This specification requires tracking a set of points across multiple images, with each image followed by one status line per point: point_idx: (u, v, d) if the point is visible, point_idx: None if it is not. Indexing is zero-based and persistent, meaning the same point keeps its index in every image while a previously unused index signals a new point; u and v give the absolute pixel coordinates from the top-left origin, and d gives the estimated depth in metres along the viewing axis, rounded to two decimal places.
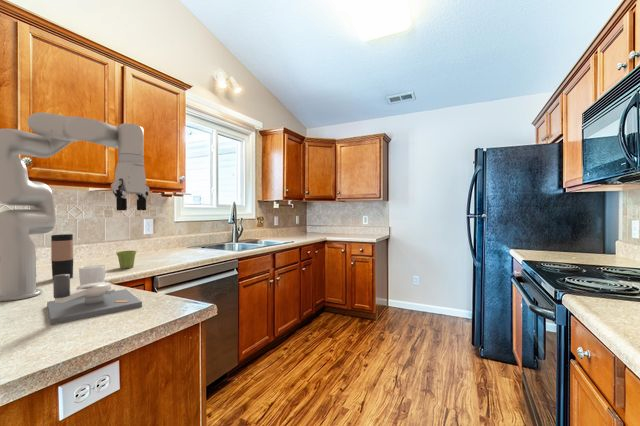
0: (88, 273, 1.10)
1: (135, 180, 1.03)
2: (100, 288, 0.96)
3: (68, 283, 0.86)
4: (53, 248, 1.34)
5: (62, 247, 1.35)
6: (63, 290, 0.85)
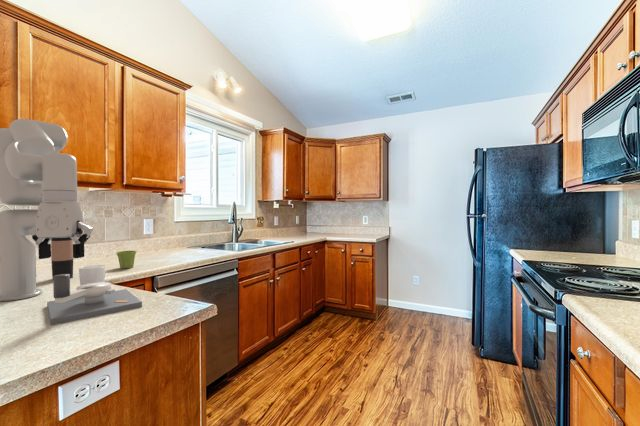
0: (88, 273, 1.10)
1: None
2: (100, 288, 0.96)
3: (68, 283, 0.86)
4: (53, 248, 1.34)
5: (62, 247, 1.35)
6: (63, 290, 0.85)
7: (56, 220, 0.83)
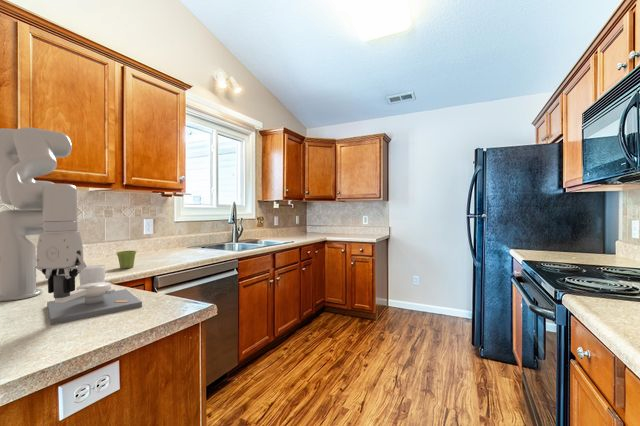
0: (88, 273, 1.10)
1: None
2: (100, 288, 0.96)
3: None
4: None
5: None
6: (63, 290, 0.85)
7: (56, 251, 0.83)
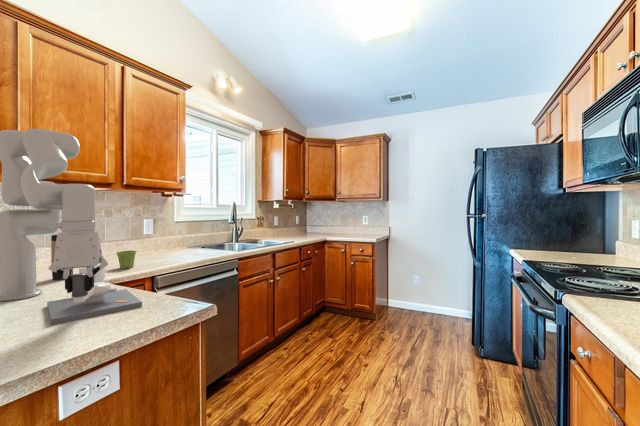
0: None
1: None
2: (105, 287, 0.97)
3: None
4: (53, 248, 1.34)
5: None
6: (84, 289, 0.86)
7: (81, 250, 0.84)
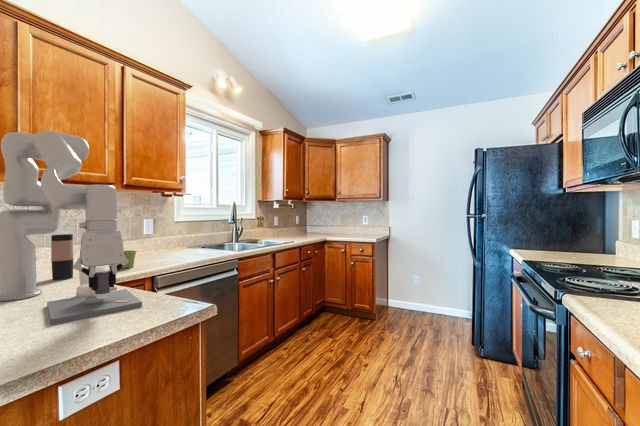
0: None
1: None
2: None
3: None
4: (53, 248, 1.34)
5: (62, 247, 1.35)
6: (109, 285, 0.90)
7: (109, 248, 0.89)
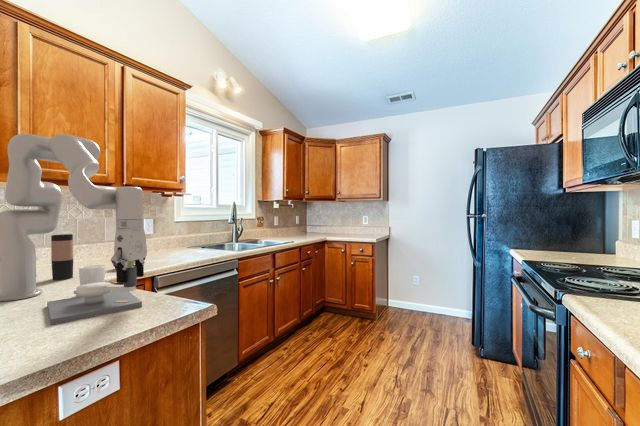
0: (88, 273, 1.10)
1: None
2: None
3: None
4: (53, 248, 1.34)
5: (62, 247, 1.35)
6: None
7: (140, 244, 0.99)
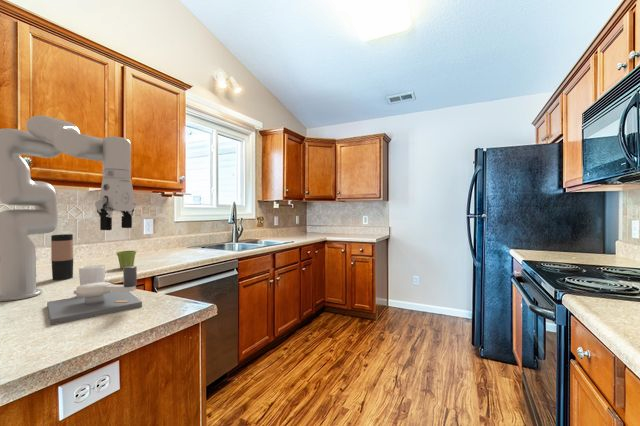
0: (88, 273, 1.10)
1: None
2: None
3: None
4: (53, 248, 1.34)
5: (62, 247, 1.35)
6: None
7: (127, 196, 0.99)
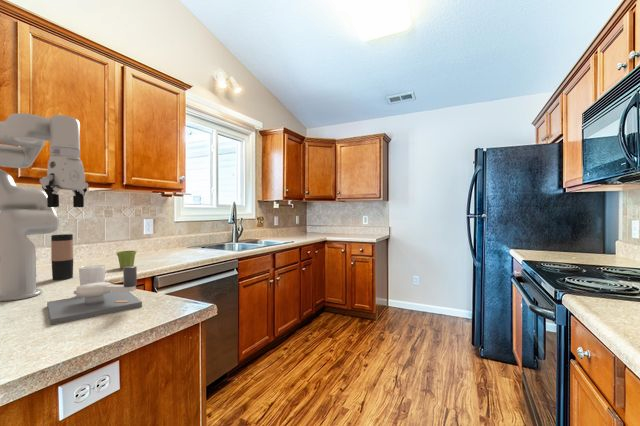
0: (88, 273, 1.10)
1: None
2: None
3: None
4: (53, 248, 1.34)
5: (62, 247, 1.35)
6: None
7: (77, 174, 1.00)
